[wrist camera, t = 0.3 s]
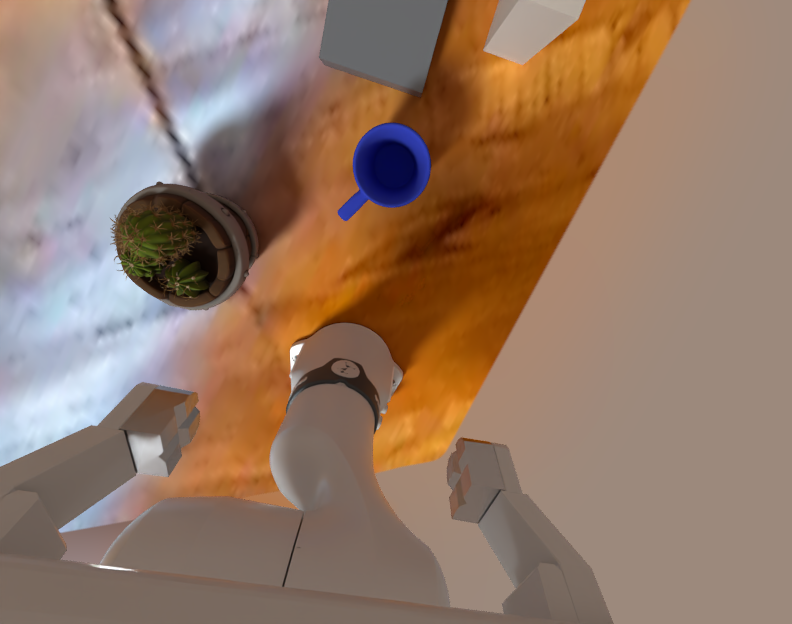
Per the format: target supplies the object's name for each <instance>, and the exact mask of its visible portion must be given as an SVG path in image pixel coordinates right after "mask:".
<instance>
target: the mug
mask: <svg viewBox="0 0 792 624" xmlns="http://www.w3.org/2000/svg"><path fill="white" fill-rule="evenodd" d="M430 171H431V159H430V154H429V150H428V148H427V146H426V144H425V142H424V140H423V139H422V138H421V136H420V135H419V134H418V133H417V132H416V131H414V130H413V129H411V128H410V127H408V126H406V125H403V124H399V123H384V124H381V125H378V126H376V127H374V128H372V129H371V130H369V131H368V132H367V133H366V134H365V135H364V136H363V137H362V138H361V140H360V141H359V143H358V145H357V147H356V150H355V153H354V158H353V172H354V177H355V180H356V183H357V185H358V187H359V189H360V190H359V191H358V192H357V193H356V194H354V195H353V196H352V197H351V198H350V199H349V200H348V201H347V202H346V203H345V204H344V205H343V206H342V207H341V208H340V209H339V210H338V215H339V216H340V217H341V218H342V219H343V220H344V221H347V220H348V219H350V218H351V217H352V216H353V215H354V214H355V213H356V212H357V211H358V210H359V209H360V208H361V207H362V206H363V204H364V203H365V202H366V201H367V200H371V201H372V202H374V203H376V204H378V205H380V206H384V207H400V206H404V205H407V204H409V203H410V202H412V201H414V200H415V199H416V198H417V197H418V196H419V195H420V194H421V193H422V192H423V190H424V189H425V187H426V185H427V183H428V180H429V177H430Z"/></svg>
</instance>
